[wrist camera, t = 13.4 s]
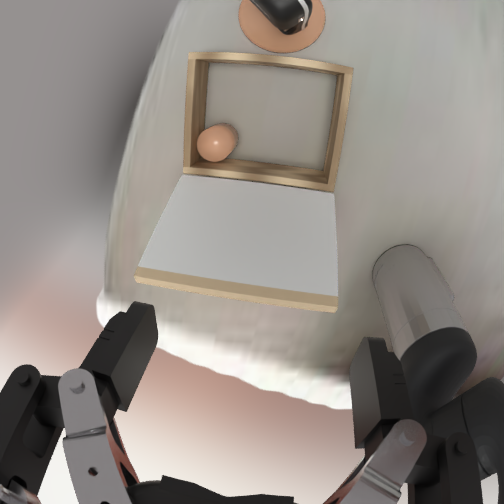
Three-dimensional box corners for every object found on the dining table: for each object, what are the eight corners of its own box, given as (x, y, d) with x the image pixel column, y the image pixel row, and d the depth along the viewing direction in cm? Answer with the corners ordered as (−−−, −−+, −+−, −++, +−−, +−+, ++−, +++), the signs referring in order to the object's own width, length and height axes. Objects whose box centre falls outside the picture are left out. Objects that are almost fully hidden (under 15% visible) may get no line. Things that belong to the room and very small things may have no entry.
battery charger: (246, 3, 27) (226, -28, 17) (272, -13, 25) (263, -50, 15) (283, 44, 29) (279, 24, 19) (309, 27, 28) (316, 2, 18)
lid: (338, 307, 24) (334, 313, 24) (334, 193, 32) (332, 200, 33) (133, 275, 25) (136, 282, 26) (181, 174, 34) (182, 181, 34)
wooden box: (344, 70, 30) (353, 67, 26) (328, 178, 38) (333, 192, 33) (203, 56, 31) (188, 52, 27) (197, 161, 39) (183, 173, 34)
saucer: (327, -13, 25) (328, -14, 24) (320, 58, 30) (321, 57, 29) (243, -20, 26) (242, -22, 25) (236, 49, 31) (234, 48, 30)
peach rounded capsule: (239, 124, 36) (232, 128, 32) (237, 154, 38) (230, 163, 34) (207, 122, 36) (197, 126, 32) (206, 152, 38) (196, 160, 34)
